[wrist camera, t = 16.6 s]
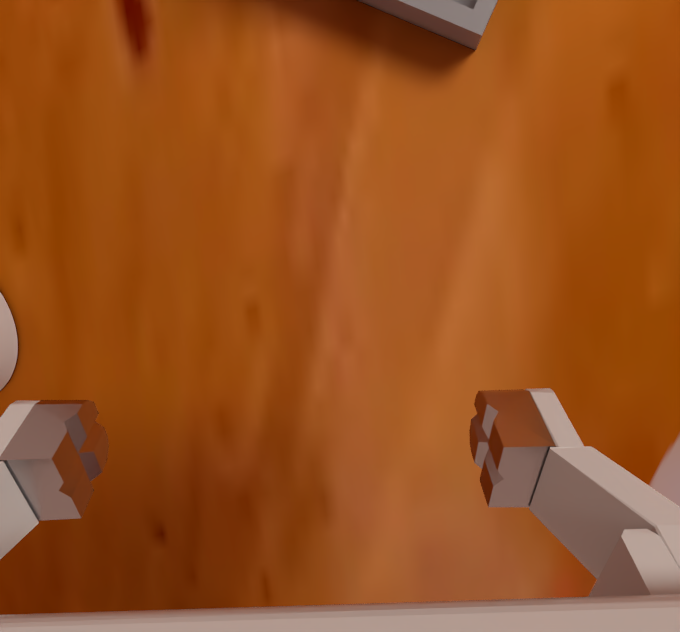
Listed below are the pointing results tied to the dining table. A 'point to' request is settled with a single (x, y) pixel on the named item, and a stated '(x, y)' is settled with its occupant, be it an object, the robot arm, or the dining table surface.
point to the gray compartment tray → (443, 16)
